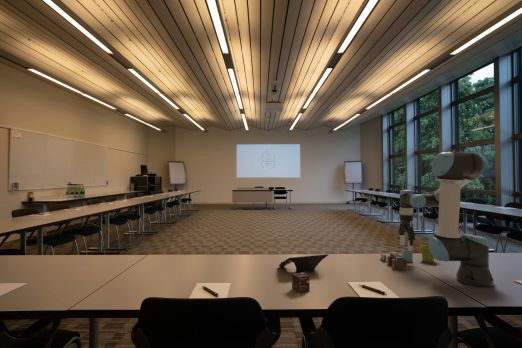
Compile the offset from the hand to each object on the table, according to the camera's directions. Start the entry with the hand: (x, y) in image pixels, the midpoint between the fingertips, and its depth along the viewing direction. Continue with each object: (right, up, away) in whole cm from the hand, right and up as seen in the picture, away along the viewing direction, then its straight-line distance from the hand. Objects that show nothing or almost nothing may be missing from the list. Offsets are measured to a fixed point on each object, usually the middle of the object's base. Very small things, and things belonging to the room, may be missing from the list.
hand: (406, 247), depth 189 cm
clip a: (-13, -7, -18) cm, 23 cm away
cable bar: (-12, -7, -14) cm, 19 cm away
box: (-74, -7, -51) cm, 90 cm away
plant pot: (+13, -8, -2) cm, 15 cm away
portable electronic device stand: (-70, -8, -20) cm, 73 cm away
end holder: (-11, -8, -1) cm, 14 cm away
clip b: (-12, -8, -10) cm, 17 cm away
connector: (0, -8, -1) cm, 8 cm away
